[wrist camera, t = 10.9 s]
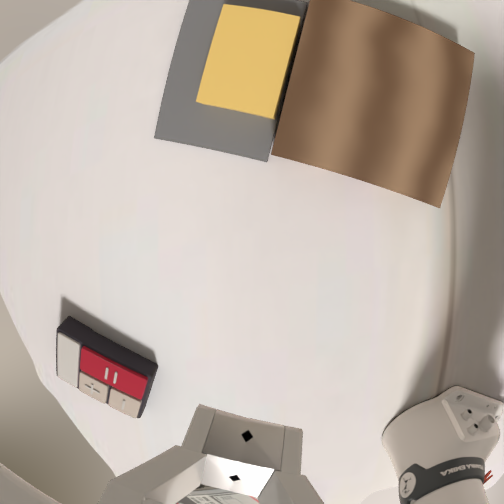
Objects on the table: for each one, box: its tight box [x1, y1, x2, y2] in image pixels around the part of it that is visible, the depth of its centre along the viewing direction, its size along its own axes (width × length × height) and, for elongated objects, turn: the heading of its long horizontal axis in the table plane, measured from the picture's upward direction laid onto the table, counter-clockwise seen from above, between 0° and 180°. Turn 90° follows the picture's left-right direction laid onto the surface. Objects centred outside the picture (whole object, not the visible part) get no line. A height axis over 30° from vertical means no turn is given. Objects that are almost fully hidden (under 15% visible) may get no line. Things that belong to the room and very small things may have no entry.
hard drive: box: [176, 484, 260, 504], centre depth 50 cm, size 18×27×4 cm
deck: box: [271, 0, 475, 208], centre depth 25 cm, size 16×16×4 cm
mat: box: [154, 0, 307, 162], centre depth 27 cm, size 12×17×1 cm
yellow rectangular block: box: [196, 4, 300, 120], centre depth 25 cm, size 7×10×2 cm
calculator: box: [56, 316, 158, 418], centre depth 41 cm, size 11×4×15 cm
